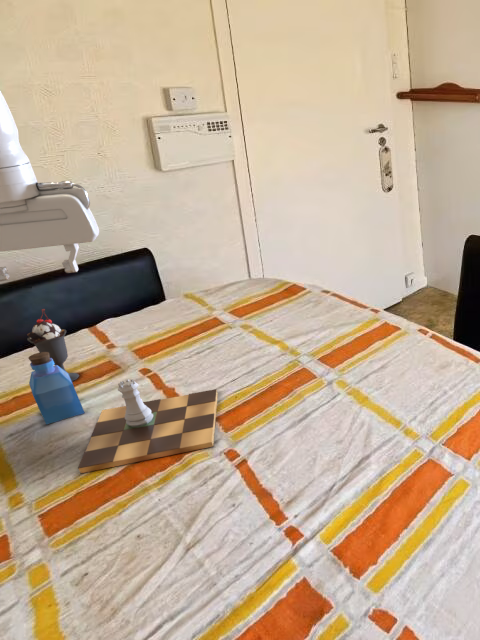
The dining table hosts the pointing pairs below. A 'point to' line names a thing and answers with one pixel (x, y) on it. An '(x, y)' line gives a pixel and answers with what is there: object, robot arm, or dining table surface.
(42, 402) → the perfume bottle
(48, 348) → the sundae
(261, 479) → the dining table surface
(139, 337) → the dining table surface
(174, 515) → the dining table surface
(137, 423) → the rook chess piece
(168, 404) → the chessboard
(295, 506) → the dining table surface
